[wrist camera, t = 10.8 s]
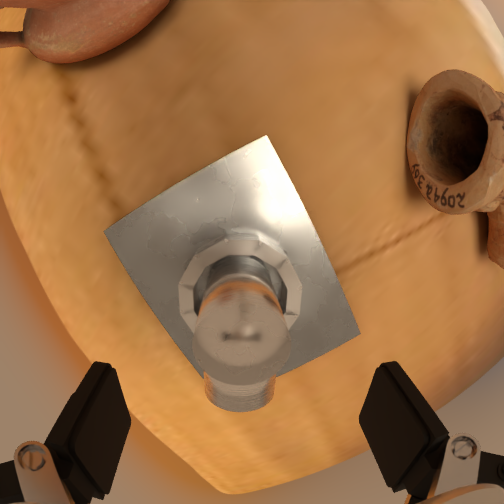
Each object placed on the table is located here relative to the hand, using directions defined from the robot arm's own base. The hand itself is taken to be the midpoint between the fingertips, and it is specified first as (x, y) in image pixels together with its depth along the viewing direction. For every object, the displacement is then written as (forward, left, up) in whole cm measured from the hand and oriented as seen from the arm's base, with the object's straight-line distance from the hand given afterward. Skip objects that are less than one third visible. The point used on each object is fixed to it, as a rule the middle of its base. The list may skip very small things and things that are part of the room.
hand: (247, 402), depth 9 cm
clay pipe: (+2, +22, -14) cm, 26 cm away
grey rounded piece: (+1, -1, -13) cm, 13 cm away
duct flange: (+1, 0, -14) cm, 14 cm away
